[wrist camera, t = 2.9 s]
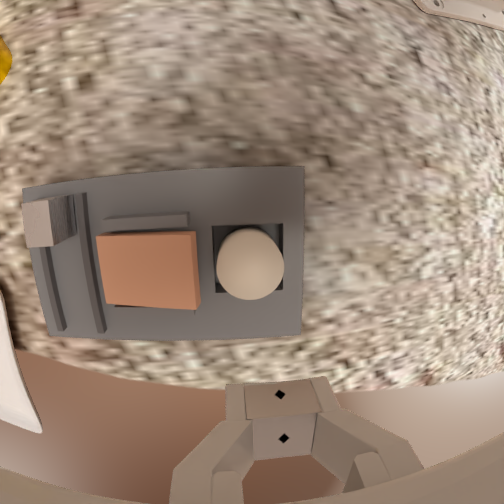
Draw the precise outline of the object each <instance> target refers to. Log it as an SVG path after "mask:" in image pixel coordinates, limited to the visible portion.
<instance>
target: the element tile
mask: <svg viewBox="0 0 504 504" xmlns="http://www.w3.org/2000/svg"><path fill="white" fill-rule="evenodd" d="M11 64H12V55H11V52H10V50H9V49H8V47H7V46H6V44H5V42H4V41H3V39H2V37H1V36H0V84H1V83H2V81H3V80H4V79H5V77H6V76H7V74H8V72H9V70H10V68H11Z"/></svg>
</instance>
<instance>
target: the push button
mask: <svg viewBox="0 0 504 504" xmlns="http://www.w3.org/2000/svg"><path fill="white" fill-rule="evenodd" d="M283 274H284V260H283V257H282V254H281V252H280V251H279V249H278V247H277V245H276V244H275V242H274V240H273V239H272V238H271V236H270V235H269V234H267V233H266V232H265V231H263V230H261V229H259V228H256V227H241V228H238V229H235V230H233V231H232V232H230V233H229V234H228V235H227V236H226V237H225V238H224V239H223V241H222V242H221V244H220V247H219V251H218V258H217V276H218V279H219V282H220V283H221V285H222V287H223V288H224V289H225V290H226V291H227V292H228V293H230V294H231V295H233V296H234V297H237V298H240V299H244V300H256V299H260V298H263V297H265V296H267V295H269V294H270V293H272V292H273V291H274V290H275V289H276V288H277V287H278V285H279V284H280V282H281V280H282V277H283Z"/></svg>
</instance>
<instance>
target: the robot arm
mask: <svg viewBox="0 0 504 504" xmlns="http://www.w3.org/2000/svg"><path fill="white" fill-rule="evenodd" d="M413 1H414V2H415V3H416V5H417V6H418V7H419V8H420V9H421V10H422V11H424V12H426V13H428V14H434V15H439V16H445V17H450V18H455V19H459V20H464V21H468V22H472V23H476V24H480V25H484V26H488V27H491V28H495V29H498V30H502V31H503V30H504V0H413ZM243 385H244V387H243ZM225 389H226V421H221V422H220V423H219V424H218V425H217V426H216V427H215V428H214V429H213V430H212V431H211V432H210V433H209V434H208V435H207V436H206V437H205V438H204V440H202V442H201V443H200V444H198V446H197V447H196V448H195V449H194V450H193V451H192V452H191V453H190V454H189V455H188V456H187V457H186V458H185V459H184V460H183V461H182V462H180V463H179V464H178V465H177V466H176V467H175V468H174V470H173V477H172V484H171V492H170V500H169V504H244V500H243V490H242V480H243V478H244V476H245V475H246V474H247V472H248V470H249V469H250V467H251V465H252V464H253V462H254V460H262V459H271V458H280V457H290V456H300V455H308V454H311V456H312V457H313V458H315V459H316V460H317V461H318V462H319V463H321V464H322V465H323V466H324V467H325V468H326V469H327V470H329V471H330V472H331V473H332V474H333V475H335V476H336V477H337V478H338V479H340V480H341V481H342V482H343V483H345V487H344V489H343V492H342V494H338V495H333V496H328V497H322V498H316V499H310V500H304V501H297V502H290V503H281V504H504V432H503V433H501V434H499V435H498V436H496V437H494V438H492V439H490V440H488V441H486V442H484V443H483V444H481V445H479V446H477V447H475V448H473V449H470V450H468V451H466V452H464V453H462V454H460V455H458V456H455V457H453V458H451V459H449V460H446V461H444V462H441V463H439V464H436V465H434V466H431V467H429V468H426V469H424V467H423V465H422V464H421V462H420V460H419V459H418V457H417V455H416V454H415V452H414V450H413V449H412V447H411V445H410V444H409V442H408V441H407V440H405V439H403V438H401V437H399V436H397V435H395V434H393V433H391V432H389V431H387V430H385V429H383V428H381V427H379V426H378V425H375V424H374V423H372V422H370V421H368V420H366V419H364V418H363V417H361V416H358V415H357V414H355V413H353V412H352V411H350V410H348V409H341V407H340V405H339V403H338V401H337V399H336V396H335V394H334V392H333V390H332V388H331V386H330V384H329V381H328V379H327V377H325V376H321V377H314V378H309V379H302V380H293V381H283V382H266V383H243V384H226V387H225ZM0 504H147V503H138V502H130V501H124V500H117V499H111V498H106V497H101V496H96V495H91V494H87V493H83V492H78V491H74V490H70V489H66V488H63V487H59V486H56V485H52V484H49V483H46V482H42V481H39V480H36V479H33V478H30V477H27V476H24V475H22V474H19V473H16V472H13V471H11V470H8V469H6V468H3V467H1V466H0Z"/></svg>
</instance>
